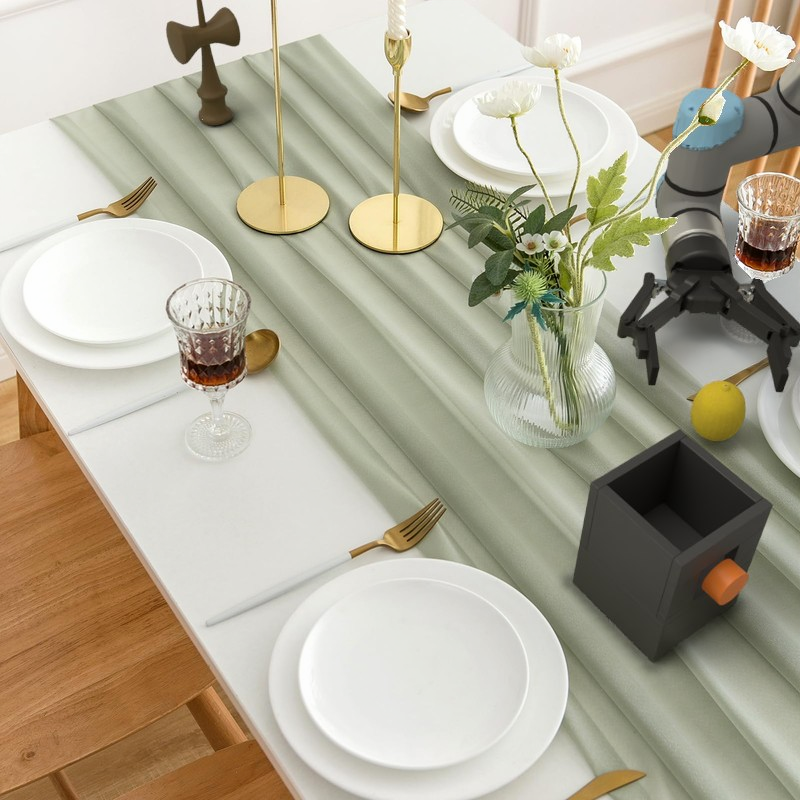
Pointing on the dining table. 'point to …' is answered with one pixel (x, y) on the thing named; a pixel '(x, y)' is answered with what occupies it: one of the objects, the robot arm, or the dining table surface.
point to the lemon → (718, 411)
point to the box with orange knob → (665, 540)
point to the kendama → (206, 57)
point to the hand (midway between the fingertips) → (717, 380)
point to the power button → (725, 581)
